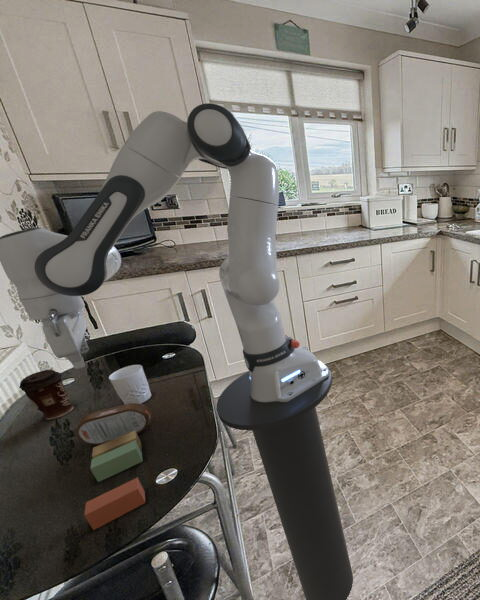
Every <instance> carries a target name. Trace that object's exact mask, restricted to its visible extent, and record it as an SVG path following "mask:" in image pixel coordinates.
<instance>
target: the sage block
mask: <svg viewBox="0 0 480 600" xmlns="http://www.w3.org/2000/svg"><path fill="white" fill-rule="evenodd" d="M90 460H91V462H90V469H89V470H90V471H91V473H92V474H93V476H94V478H95V479H96V482H97V483H100V482H101V481H102V482H103V481H104V480H107V479H109V478H110V477H113V476H115V475H117V474H119V473H122V472H124V471H125V470H128V469H130V468H131V467H134V466H136V465H138V464H140V463H143V452H142V451H141V450H140V448H139V446H138V444H137V442H136V440H135V441H133V442H130V443H128V444H126V445H123V446H121V447H119V448H116V449H114V450H112V451H110V452H107V453H105V454H103V455H100V456H98V457H96V458H91V459H90Z"/></svg>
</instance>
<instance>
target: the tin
mask: <svg viewBox="0 0 480 600" xmlns="http://www.w3.org/2000/svg"><path fill="white" fill-rule="evenodd" d="M152 418H153V413H152V411H151V409H150V408H149V407H148V406H146V405H145V404H143V403H141V404H138V403H130V404H125V405H124V404H121V405H117V406H114V407H110V408H106V409H102V410H98V411H94V412H90V413H88V414H86V415H85V416H84V417H82V419H81V420H80V421H79V423H78V425H77V427H76V429H75V434H76V437H77V438H78V439H79V440H80V441H81V442H83V443H85V444H88V445H101V444H104V443H106V442H108V441H111V440H113V439H115V438H118V437H120V436H123V435H125V434H127V433H130V432H132V431H136V433H137V435H138V434H140V433H142V432H143V431H145V430H146V429H147V428H148V426H149V424H150V422H151V420H152Z"/></svg>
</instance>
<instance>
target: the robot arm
mask: <svg viewBox="0 0 480 600" xmlns="http://www.w3.org/2000/svg"><path fill="white" fill-rule="evenodd" d="M197 160H198V161H199V162H202V163H205V164H209V165H211V166H213V167H217V168H220V169H225V170H227V171H228V173H229V178H230V190H229V199H228V200H229V202H228V212H227V213H228V214H227V227H226V229H227V230H226V231H227V238H228V239H227V241H228V257H227V258H225V259H224V260H223V261H222V262H221V265H220V267H219V271H218V274H219V275H218V276H219V281H220V283H221V286H222V289H223V292H224V295H225V297H226V300H227V303H228V306H229V308H230V309H229V310H230V312H231V315H232V317H233V319H234V322H235V325H236V328H237V331H238V334H239V339H240V342H241V345H242V348H243V349H242V353H243V354H242V355H243V360H244V364H245V366H246V369H247V370H248V372H249V373H250V381H251V393H250V395H251V397H252V399H254V400H255V401H258V402H274V401H279V402H288V401H290V400H292V399H293V398H295V397H296V396H298V395H300V394H301V393H303V392H304V391H306V390H308V389H309V388H311V387H312V386H314V385H316V384H317V383H319V382H321V381H322V380H324V379H325V378H327V377H328V376H329V371H328V368H329V367H328V366H327V365H326V364H325V363H324V362H322V361H321V360H319V359H318V358H317V357H316V356H315V354H314V353H313V352H311V350H309V348H308V347H307V346H303V347H300V344H301V343H300V342H299V341H298V340H297V339H294V338H292V337H291V336H288V335H286V333H285V330H284V326H283V322H282V318H281V314H280V311H279V310H278V307H277V305H276V303H275V298H276V297H277V295H278V293H279V291H280V280H279V276H278V275H279V274H278V259H277V258H278V257H277V245H276V235H277V234H276V233H277V224H278V214H279V213H278V212H279V201H280V182H279V180H280V179H279V178H280V177H279V171H278V167H277V164H276V163H275V162H274V161H273V160H272V159H271V158H269V157H267V156H266V155H263V154H260V153H257V152H255V151H253V150H252V147H251V144H250V142H249V140H248V137H247V136H246V133H245V131H244V128H243V126H242V124H241V122H240V121H239V119H238V118H237V116H236V115H235V114H234V113H233V112H231V111H230V110H229V109H227V107H226V108H225V107H224V106H222V105H220V104H216V103H211V102H210V103H202V104H201V103H200V104H199V105H197V106H195V107H194V108H193V109H192V110H191V111H190V113H189V114H188V116H187V121H184V120H182V119H181V118H180V117H178V116H176V115H174V114H172V113H170V112H166V111H162V110H157V111H153V112H151V113H149V114H148V115H147V116H146V117H145V118H144V119H143V120H141V122H140V123H139V124H138V125H137V126H136V127H135V128H134V129H133V130H132V132H131V133H130V134H129V136H128V137H127V139H125V142H124V143H123V144H122V146H121V147H120V149H119V150H118V153H117V155H116V156H115V158H114V160H113V163H112V165H111V167H110V169H109V172H108V174H107V175H106V178H105V180H104V181H103V184H102V186H101V188H100V190H99V192H98V193H97V195H96V197H95V198H94V199H93V201H92V202H91V204H90V205H89V207H88V208H87V209H86V211H85V212H84V213H83V215H82V216H81V218H80V219H79V220H78V222H77V223H76V225H75V226H74V227H73V229H72V230H71V231H70V232H69V234H68V235H66V234H62V233H57V232H54V231H52V230H49V229H47V228H43V227H31V228H26V229H22V230H17V231H13V232H10V233H6V234H4V235H1V236H0V265H1V266H2V269H3V271H4V273H5V275H6V277H7V278H8V280H9V281H10V282H11V283H12V284H14V286H15V287H16V290H17V297H18V299H19V301H20V302H21V304H22V306H23V308H24V310H25V312H26V314H27V316H28V317H29V319H30V320H33V321H40V322H41V324H42V332H43V334H44V337H45V339H46V341H47V343H48V345H49V347H50V350H51V351H52V353H53V356H55V357H56V358H57V359H62V358H65V359H67V360H68V361H69V362H70V363H71V364H72V367H73V368H74V369H75V370H79V369H83V368H84V367H86V364H87V363H86V361H85V359H84V357H83V356H82V355H83V354H88V352H89V351H90V347H89V346H88V343H87V339H86V336H85V335H86V332H87V328H88V326H87V325H88V324H87V319H86V317H85V314H84V311H83V308H84V307H85V306H86V304H85V302H84V300H83V299H84V298H83V297H82V296H87V295H91V294H93V293H95V292H96V291H97V290H99V289H100V288H101V286H102V285H103V284H104V283H105V282H107V281H108V280H109V279H111V278H112V277H113V276H114V275H115V274H117V273H118V271H119V270H120V268H121V266H122V261H123V259H122V255H121V253H120V251H119V250H118V249H117V248H116V246H115V245H116V243H117V242H118V240H119V239H120V237H121V236H122V234H123V233H124V231H125V230H126V229H127V227H128V226H129V224H130V223H131V222H132V220H133V219H134V218H136V217H137V216H138V215H139V214H140V213H142V212H143V211H145V210H146V209H148V208H150V207H152V206H154V205H155V204H157V203H159V202H161V201H162V200H164V199H165V198H166V197H167V196H168V195H169V194H170V192H171V191H173V189H174V188H175V187H176V186H177V184H178V182H179V181H180V179H181V178H182V176H183V175H184V173H185V172H186V170H187V168H188V167H189V166H190V165H191V164H192V163H193V162H195V161H197ZM326 366H327V367H328V368H327V367H326Z"/></svg>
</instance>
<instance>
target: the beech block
mask: <svg viewBox="0 0 480 600" xmlns="http://www.w3.org/2000/svg"><path fill="white" fill-rule="evenodd" d="M135 440H136V442H137V444H138V446H139V448H140V450H141V452H142V451H143V449H142V447H143V445H142V441H141V439H140V437H139V435H138V434H137V433H136V431H132V432H130V433H127V434H125V435H123V436H120V437H118V438H115V439H113V440H111V441H108V442H106V443H103V444H98V445H95V446H94V447H92V453H91V459H93V458H96V457H98V456H100V455H103V454H105V453H107V452H110V451H112V450H114V449H116V448H119V447H121V446H123V445H126V444H128V443H130V442H133V441H135Z"/></svg>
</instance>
